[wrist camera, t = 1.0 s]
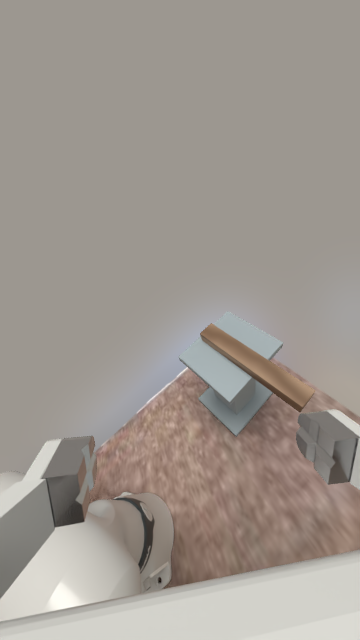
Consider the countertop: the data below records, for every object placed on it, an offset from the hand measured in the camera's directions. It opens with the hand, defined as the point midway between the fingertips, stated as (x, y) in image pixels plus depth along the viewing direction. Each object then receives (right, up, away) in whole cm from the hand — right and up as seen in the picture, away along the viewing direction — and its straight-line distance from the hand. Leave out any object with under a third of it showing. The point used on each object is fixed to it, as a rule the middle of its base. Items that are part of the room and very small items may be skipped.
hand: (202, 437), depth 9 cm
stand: (+15, -18, +55) cm, 60 cm away
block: (+12, -4, +33) cm, 36 cm away
